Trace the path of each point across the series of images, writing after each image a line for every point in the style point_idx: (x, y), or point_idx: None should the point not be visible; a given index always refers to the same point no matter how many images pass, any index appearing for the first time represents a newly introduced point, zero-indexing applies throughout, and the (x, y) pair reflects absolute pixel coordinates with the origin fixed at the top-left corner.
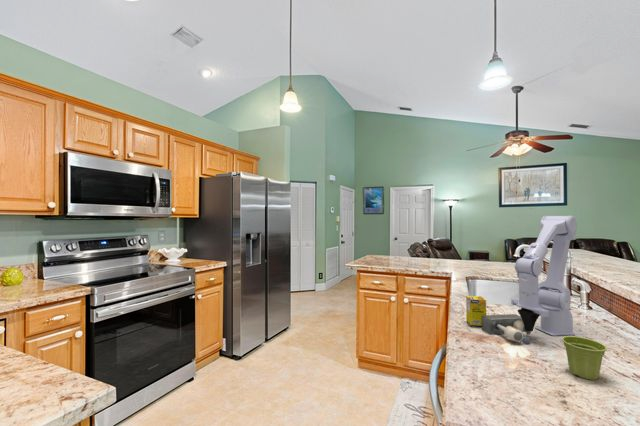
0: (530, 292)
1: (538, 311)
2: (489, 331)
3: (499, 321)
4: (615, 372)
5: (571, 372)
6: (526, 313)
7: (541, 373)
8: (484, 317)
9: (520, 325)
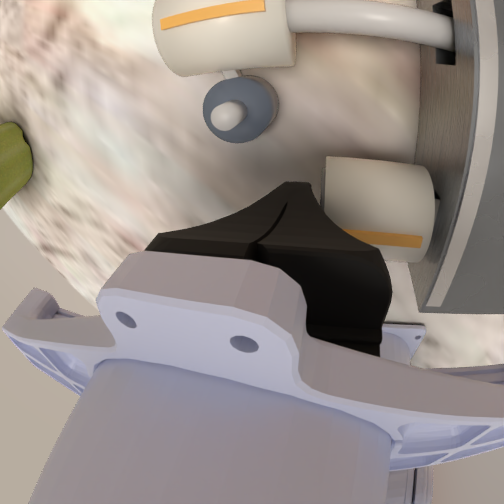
0: None
1: (34, 322)
2: None
3: (463, 40)
4: (50, 243)
5: (8, 122)
6: (148, 247)
7: (4, 34)
8: None
9: (352, 183)
